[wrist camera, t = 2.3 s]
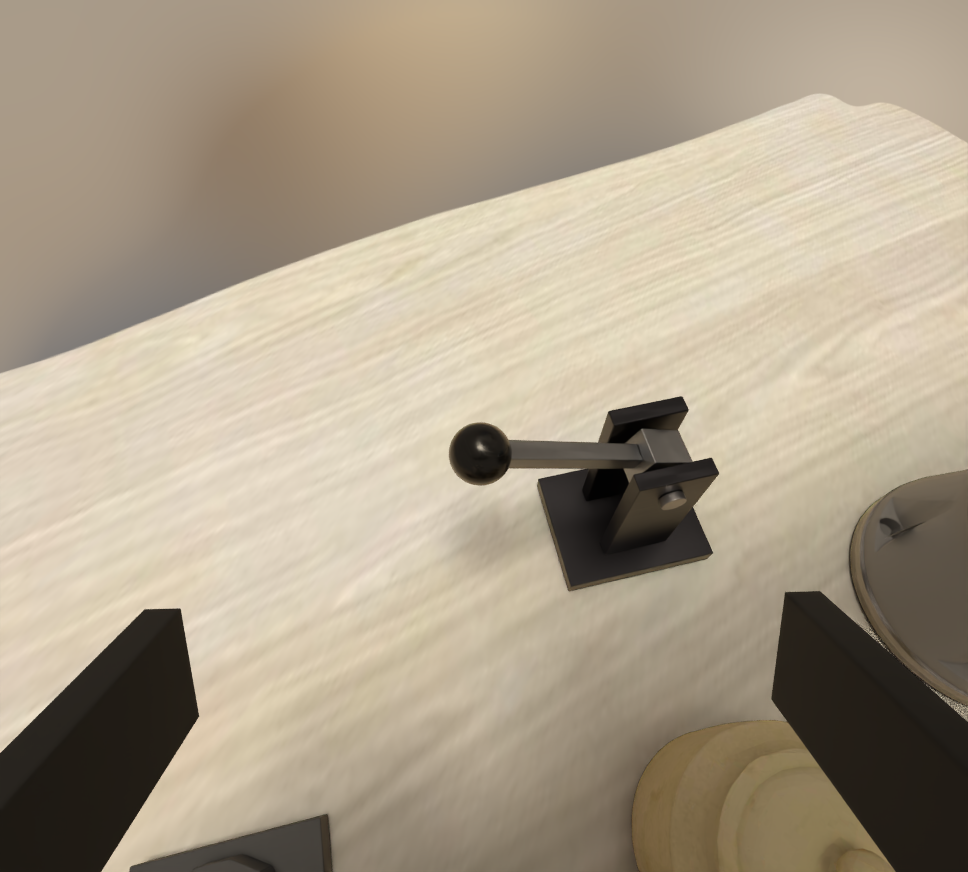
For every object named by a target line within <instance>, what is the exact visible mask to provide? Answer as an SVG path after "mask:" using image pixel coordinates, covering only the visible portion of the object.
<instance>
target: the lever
mask: <svg viewBox="0 0 968 872" xmlns="http://www.w3.org/2000/svg"><path fill="white" fill-rule="evenodd" d="M449 460H450V464H451V467H452V469H453V470H454V472H455V473H456V475H457V476H458V477H459V478H461V479H462V480H463V481H465V482H467V483H469V484H473V485H488V484H491V483H494V482H495V481H497V480H499V479H500V478H501V477H502V476H503V475H504V474H505V473H506V472H507V470H508V468H558V469H624V471H625V473H626V476H627V479H628V481H629V483H630V481H631V479H632V477H633V475H634V474H639V473H643V472H648V471H652V470H657V469H662V468H666V467H671V466H675V465H680V464H685V463H689V462H692V459H691V457H690V455H689V453H688V451H687V448H686V446H685V444H684V442H683V440H682V437H681V435H680V433H679V431H678V430H665V429H640V430H639V431H638V432H637V433H636V434H634V435H633V436H632V437H631V438H630V439H629V440H628V441H627V442H625V443H591V442H556V441H521V440H508V438H507V436H506V435H505V434H504V433H503V432H502V431H501V430H500V429H499V428H497V427H496V426H494V425H491V424H488V423H481V422H480V423H472V424H469V425H467V426H465V427H463V428H462V429H461V430H459V431H458V432H457V433H456V435H455V436H454V438H453V439H452V441H451V444H450V448H449Z"/></svg>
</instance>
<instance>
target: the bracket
mask: <svg viewBox="0 0 968 872" xmlns="http://www.w3.org/2000/svg"><path fill="white" fill-rule="evenodd" d="M687 412H688V407H687V405H686V403H685V401H684V399H683V397H682V396H681V397H676V398H671V399H666V400H661V401H656V402H651V403H646V404H642V405H637V406H632V407H627V408H622V409H617V410H612V411H609V412H608V414H607V417H606V420H605V423H604V426H603V429H602V432H601V435H600V438H599V441H598V443H625V442H627V441H628V440H629V439H630V438H631V437H632V436H633V435H634V434H636V433H637V432H638V431H639V430H640V429H665V430H678V428H679V427H680V425H681V423H682V421H683V420H684V418H685V416H686V414H687ZM718 475H719V472H718V470H717V468H716V466H715V463H714V461H713V459H712V458H708V459H703V460H699V461H694V462H689V463H685V464H680V465H675V466H671V467H666V468H662V469H657V470H652V471H648V472H643V473H639V474H634V475H633V477H632V479H631V481H630V483H629V481H628V479H627V476H626V473H625V471H624V469H583V470H579V471H574V472H569V473H565V474H560V475H555V476H550V477H546V478H541V479H538V485H537V487H538V490H539V493H540V497H541V500H542V503H543V507H544V510H545V513H546V517H547V520H548V523H549V527H550V530H551V533H552V537H553V540H554V543H555V547H556V550H557V553H558V557H559V560H560V563H561V567H562V570H563V573H564V577H565V580H566V583H567V587H568V590H569V591H571V590H576V589H580V588H584V587H588V586H593V585H597V584H601V583H605V582H610V581H614V580H618V579H622V578H627V577H631V576H635V575H639V574H644V573H648V572H652V571H656V570H661V569H665V568H669V567H673V566H678V565H682V564H686V563H691V562H695V561H699V560H703V559H707V558H708V557H709V556H710V555H712V554H713V552H712V550H711V547H710V545H709V543H708V540H707V538H706V536H705V534H704V531H703V529H702V527H701V524H700V522H699V520H698V518H697V515H696V513H695V511H694V508H693V506H694V505H695V503H696V502H697V501H698V500H699V498H700V497H701V496H702V495H703V493H704V492H705V491H706V490H707V488H708V487H709V486H710V485H711V483H712V482H713V481H714V480H715V478H716V477H717V476H718Z"/></svg>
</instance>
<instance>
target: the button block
mask: <svg viewBox="0 0 968 872" xmlns="http://www.w3.org/2000/svg"><path fill="white" fill-rule="evenodd" d="M130 872H332V864H331V851H330V838H329V825H328V815H327V814H325V815H322V816H318V817H314V818H310V819H306V820H303V821H299V822H295V823H291V824H288V825H284V826H280V827H276V828H272V829H269V830H265V831H261V832H257V833H254V834H250V835H246V836H242V837H238V838H235V839H231V840H227V841H223V842H219V843H216V844H212V845H208V846H204V847H201V848H197V849H193V850H189V851H185V852H182V853H178V854H174V855H170V856H167V857H163V858H159V859H155V860H151V861H148V862H144V863H141V864H137V865H134V866H131V867H130Z"/></svg>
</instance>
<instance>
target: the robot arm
mask: <svg viewBox="0 0 968 872" xmlns="http://www.w3.org/2000/svg"><path fill="white" fill-rule="evenodd" d="M850 563H851V573H852V578H853V583H854V586H855V590H856V593H857V596H858V598H859V601H860V603H861V606H862V608H863V610H864V612H865V614H866V616H867V618H868V619H869V621H870V623H871V624H872V626H873V628H874V629H875V631H876V632H877V634H878V635H879V636H880V638H881V639H882V641H883V642H884V643H885V644H886V645H887V647H888V648H889V649H890V650H891V651H892V652H893V654H894V655H895V656H896V657H897V658H898V659H899V660H900V661H901V662H902V663H903V664H904V665H905V666H906V667H908V668H909V669H910V670H911V671H912V672H913V673H914V674H916V675H917V676H918V677H919V678H921V679H922V680H923V681H925V682H926V683H927V684H929V685H930V686H932V687H933V688H935V689H936V690H938V691H940V692H941V693H943V694H945V695H946V696H948V697H950V698H952V699H954V700H956V701H958V702H960V703H962V704H965V705H967V706H968V470H963V471H957V472H952V473H946V474H940V475H935V476H929V477H925V478H921V479H918V480H915V481H912V482H908V483H906V484H903V485H901V486H899V487H897V488H896V489H894V490H892V491H891V492H889V493H888V494H886V495H885V496H883V497H882V498H880V499H879V500H878V501H876V502H875V503H874V504H872V505H871V506H870V507H869V508H868V509H867V510H866V512H865V513H864V514H863V516H862V517H861V519H860V521H859V522H858V524H857V527H856V529H855V531H854V535H853V539H852V543H851V551H850ZM903 664H901V663H900V662H899V661H898V660H897V659H896V658H895V657H894V656H892V655H891V654H890V653H889V652H888V651H887V650H886V649H885V648H883V647H882V646H881V645H880V644H879V643H878V642H877V641H875V640H874V639H873V638H872V637H871V636H870V635H869V634H868V633H866V632H865V631H864V630H863V629H862V628H861V627H860V626H859V625H857V624H856V623H855V622H854V621H853V620H852V619H851V618H849V617H848V616H847V615H846V614H845V613H844V612H843V611H842V610H840V609H839V608H838V607H837V606H836V605H835V604H834V603H833V602H831V601H830V600H829V599H828V598H827V597H826V596H825V595H823V594H822V593H821V592H820V591H813V592H785V597H784V605H783V613H782V620H781V628H780V636H779V644H778V651H777V659H776V667H775V674H774V682H773V690H772V698H771V700H772V701H773V702H774V704H775V705H776V707H777V708H778V709H779V711H780V712H781V713H782V715H783V716H784V718H785V719H786V720H787V722H788V723H789V725H790V726H791V727H792V729H793V730H794V731H795V733H796V734H797V736H798V737H799V738H800V740H801V741H802V743H803V744H804V745H805V747H806V748H807V750H808V751H809V752H810V754H811V755H812V756H813V758H814V759H815V761H816V762H817V763H818V765H819V766H820V768H821V769H822V770H823V772H824V773H825V775H826V776H827V777H828V779H829V780H830V781H831V783H832V784H833V786H834V787H835V788H836V790H837V791H838V793H839V794H840V795H841V797H842V798H843V800H844V801H845V802H846V804H847V805H848V806H849V808H850V809H851V811H852V812H853V813H854V815H855V816H856V818H857V819H858V820H859V822H860V823H861V825H862V826H863V827H864V829H865V830H866V831H867V833H868V834H869V836H870V837H871V838H872V840H873V841H874V843H875V844H876V845H877V847H878V848H879V850H880V851H881V852H882V854H883V855H884V856H885V858H886V859H887V861H888V862H889V863H890V865H891V866H892V868H893V869H894V870H895V872H968V722H967V721H966V720H965V719H964V718H963V717H961V716H960V715H959V714H958V713H957V712H956V711H955V710H953V709H952V708H951V707H950V706H949V705H948V704H947V703H946V702H944V701H943V700H942V699H941V698H940V697H939V696H938V695H937V694H935V693H934V692H933V691H932V690H931V689H930V688H929V687H927V686H926V685H925V684H924V683H923V682H922V681H921V680H920V679H918V678H917V677H916V676H915V675H914V674H913V673H912V672H911V671H909V670H908V669H907V668H906V667H905V666H904V665H903ZM198 717H199V713H198V707H197V701H196V696H195V690H194V684H193V678H192V672H191V667H190V661H189V655H188V649H187V643H186V638H185V632H184V626H183V620H182V614H181V609H145V610H144V611H143V612H142V613H141V614H140V615H139V616H138V617H137V618H136V619H135V620H134V621H133V622H132V623H131V624H130V625H129V626H128V627H127V628H126V629H125V630H124V631H123V632H122V633H120V634H119V635H118V636H117V637H116V638H115V639H114V640H113V641H112V642H111V643H110V644H109V645H108V646H107V647H106V648H105V649H104V650H103V651H102V652H101V653H100V654H99V655H98V656H97V657H96V658H95V659H94V660H93V661H92V662H91V663H90V664H89V665H88V666H87V667H86V668H85V669H84V670H83V671H82V672H81V673H80V674H79V675H78V676H77V677H76V678H75V679H74V680H73V681H72V682H71V683H70V684H69V685H68V686H67V687H66V688H65V689H64V690H63V691H62V692H61V693H60V694H59V695H58V696H57V697H56V698H55V699H54V700H53V701H52V702H51V703H50V704H49V705H48V706H47V707H46V708H45V709H44V710H43V711H42V712H41V713H40V714H39V715H38V716H37V717H36V718H35V719H34V720H33V721H32V722H31V723H30V724H29V725H28V726H27V727H26V728H25V729H24V730H23V731H22V732H21V733H20V734H19V735H18V736H17V737H16V738H15V739H14V740H13V741H12V742H11V743H10V744H9V745H8V746H7V747H6V748H5V749H4V750H3V751H2V752H1V753H0V872H101V871H102V869H103V868H104V866H105V865H106V863H107V862H108V860H109V858H110V857H111V855H112V854H113V852H114V850H115V849H116V847H117V846H118V844H119V842H120V841H121V839H122V838H123V836H124V835H125V833H126V831H127V830H128V828H129V827H130V825H131V823H132V822H133V820H134V819H135V817H136V816H137V814H138V812H139V811H140V809H141V808H142V806H143V804H144V803H145V801H146V800H147V798H148V796H149V795H150V793H151V792H152V790H153V789H154V787H155V785H156V784H157V782H158V781H159V779H160V777H161V776H162V774H163V773H164V771H165V770H166V768H167V766H168V765H169V763H170V762H171V760H172V758H173V757H174V755H175V754H176V752H177V750H178V749H179V747H180V746H181V744H182V743H183V741H184V739H185V738H186V736H187V735H188V733H189V731H190V730H191V728H192V727H193V725H194V724H195V722H196V720H197V719H198Z"/></svg>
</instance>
